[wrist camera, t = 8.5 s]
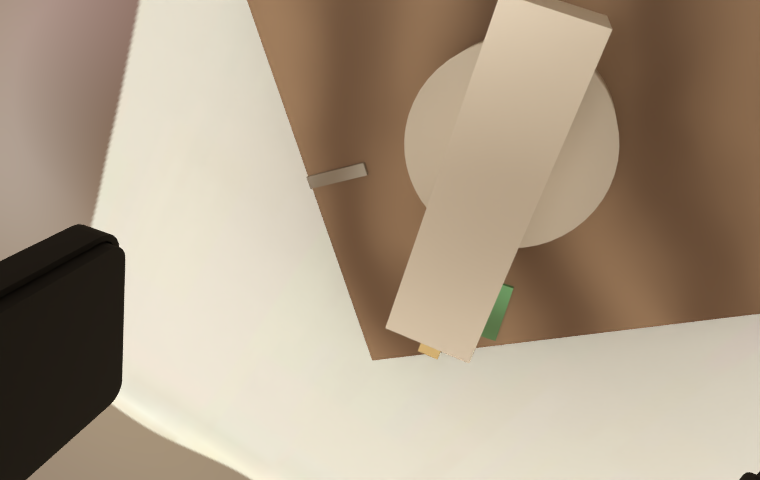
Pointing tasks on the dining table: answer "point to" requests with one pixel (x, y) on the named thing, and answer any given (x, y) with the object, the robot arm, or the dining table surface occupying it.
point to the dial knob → (502, 163)
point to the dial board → (612, 216)
